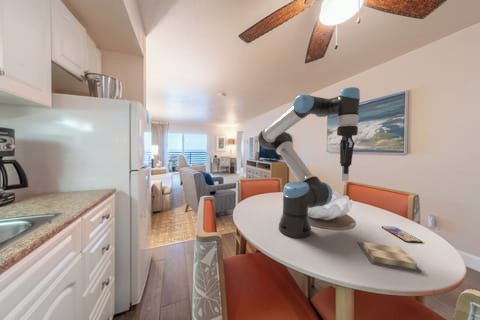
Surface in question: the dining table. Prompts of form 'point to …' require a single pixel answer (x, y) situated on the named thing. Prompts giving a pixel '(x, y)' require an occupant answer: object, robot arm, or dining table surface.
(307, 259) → the dining table surface
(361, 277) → the dining table surface
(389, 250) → the tile
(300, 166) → the robot arm
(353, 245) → the dining table surface
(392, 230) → the smartphone
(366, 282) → the dining table surface
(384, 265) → the mat
